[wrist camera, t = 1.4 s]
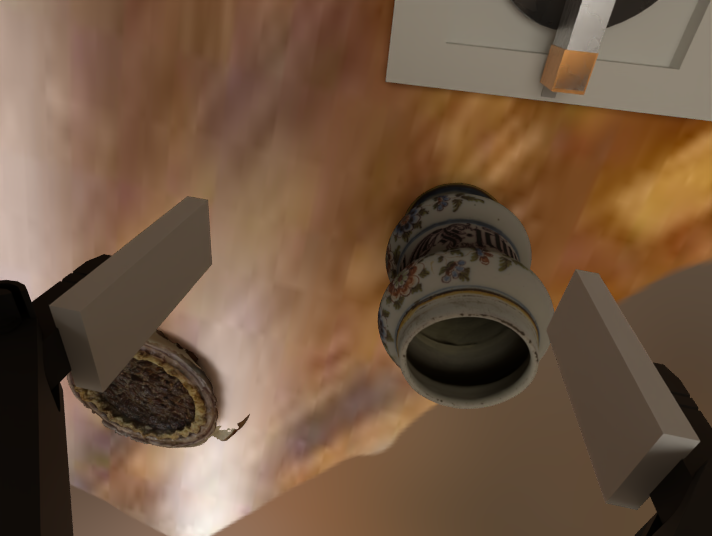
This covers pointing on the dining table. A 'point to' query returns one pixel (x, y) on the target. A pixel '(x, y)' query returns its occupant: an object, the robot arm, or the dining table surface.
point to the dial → (576, 35)
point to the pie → (159, 398)
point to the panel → (531, 48)
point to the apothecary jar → (463, 300)
